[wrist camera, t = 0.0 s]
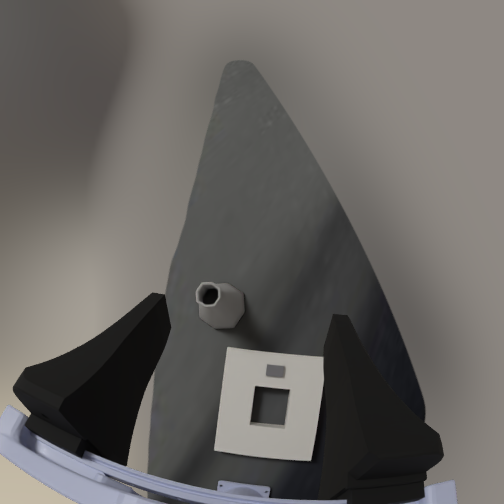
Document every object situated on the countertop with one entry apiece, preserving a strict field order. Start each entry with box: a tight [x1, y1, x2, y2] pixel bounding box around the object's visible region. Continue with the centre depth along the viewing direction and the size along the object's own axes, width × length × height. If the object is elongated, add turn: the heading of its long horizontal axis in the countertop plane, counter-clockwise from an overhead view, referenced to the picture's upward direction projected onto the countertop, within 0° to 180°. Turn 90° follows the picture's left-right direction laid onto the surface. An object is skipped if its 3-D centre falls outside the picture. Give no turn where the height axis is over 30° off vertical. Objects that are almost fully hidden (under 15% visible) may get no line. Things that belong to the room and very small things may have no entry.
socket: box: [214, 347, 324, 461], centre depth 39 cm, size 16×14×2 cm
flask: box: [196, 282, 245, 329], centre depth 41 cm, size 7×7×10 cm
